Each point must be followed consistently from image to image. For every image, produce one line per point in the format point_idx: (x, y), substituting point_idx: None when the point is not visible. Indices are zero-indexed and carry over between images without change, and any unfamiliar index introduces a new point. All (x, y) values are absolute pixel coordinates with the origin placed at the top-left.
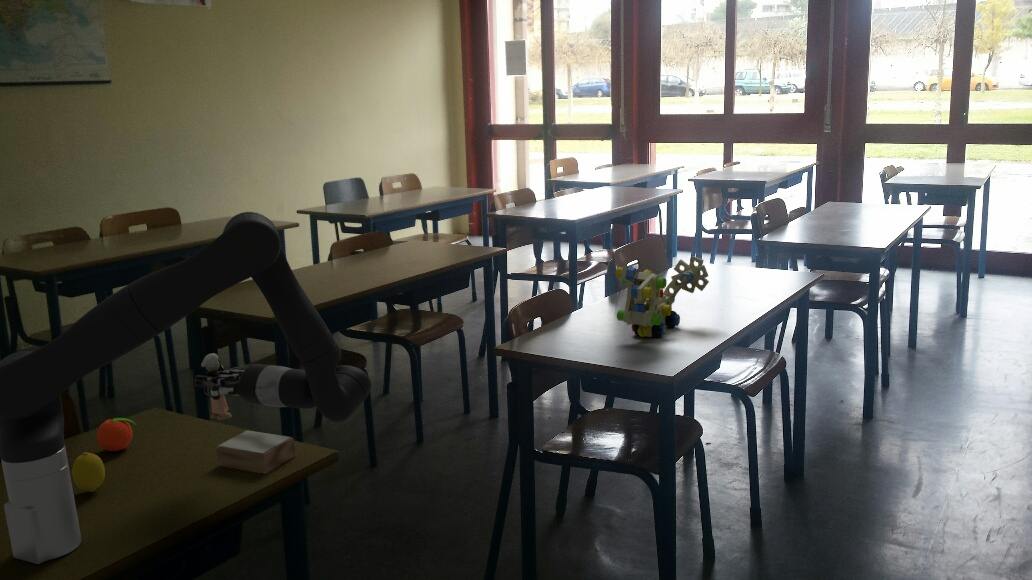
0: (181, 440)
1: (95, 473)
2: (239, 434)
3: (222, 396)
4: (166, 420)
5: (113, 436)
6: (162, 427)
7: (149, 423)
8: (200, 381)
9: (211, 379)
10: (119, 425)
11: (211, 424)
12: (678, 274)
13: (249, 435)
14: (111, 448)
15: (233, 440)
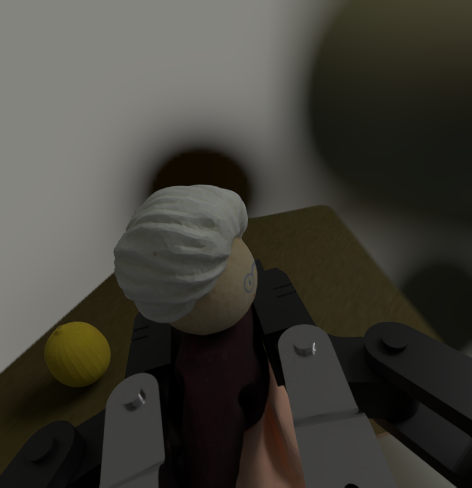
0: (306, 295)
1: (63, 376)
2: (389, 435)
3: (278, 440)
4: (323, 229)
5: None
6: (308, 244)
7: (301, 227)
8: (133, 352)
9: (108, 439)
10: None
11: (376, 270)
12: None
13: (420, 478)
14: None
15: None
